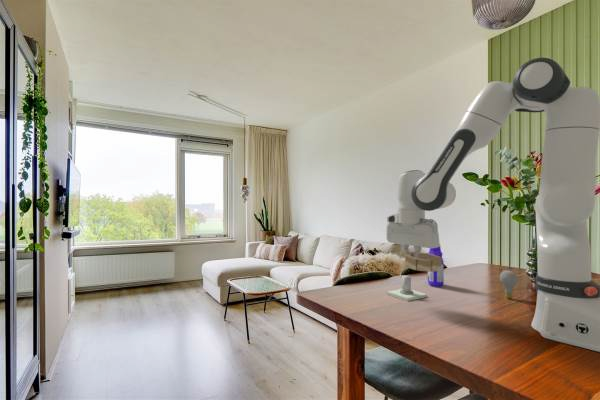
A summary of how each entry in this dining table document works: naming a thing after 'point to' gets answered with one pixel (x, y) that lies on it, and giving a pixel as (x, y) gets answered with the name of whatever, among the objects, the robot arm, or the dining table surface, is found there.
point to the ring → (423, 262)
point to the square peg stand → (406, 291)
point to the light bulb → (508, 282)
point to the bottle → (436, 276)
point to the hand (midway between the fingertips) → (411, 258)
